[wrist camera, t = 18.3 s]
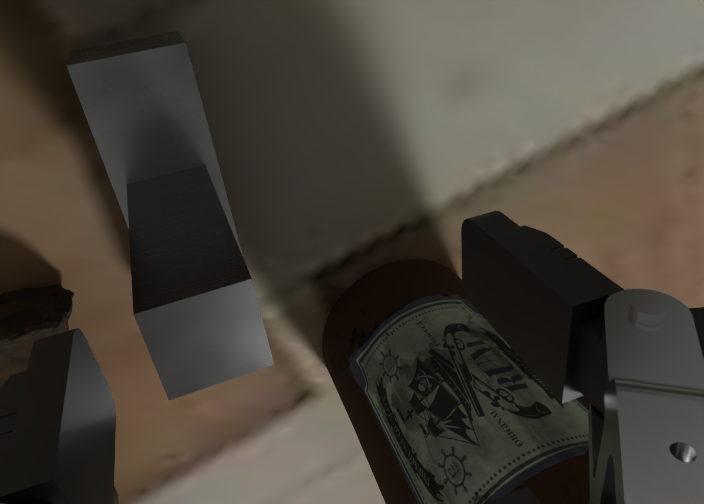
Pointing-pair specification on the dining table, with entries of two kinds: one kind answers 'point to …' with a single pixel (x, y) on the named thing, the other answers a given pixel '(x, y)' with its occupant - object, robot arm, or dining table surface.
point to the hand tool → (31, 326)
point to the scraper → (172, 212)
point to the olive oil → (448, 396)
